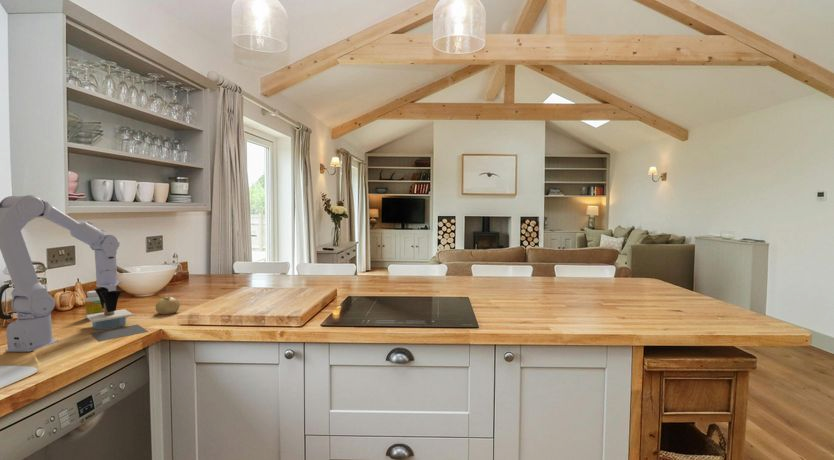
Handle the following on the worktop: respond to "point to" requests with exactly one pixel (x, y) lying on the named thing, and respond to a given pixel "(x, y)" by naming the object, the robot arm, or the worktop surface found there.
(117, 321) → the bowl
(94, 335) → the mat
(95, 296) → the supplement bottle
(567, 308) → the worktop surface
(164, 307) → the onion
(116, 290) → the robot arm
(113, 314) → the cover
